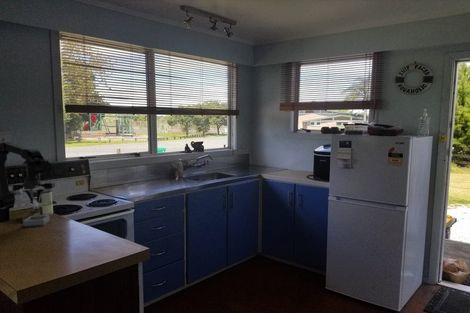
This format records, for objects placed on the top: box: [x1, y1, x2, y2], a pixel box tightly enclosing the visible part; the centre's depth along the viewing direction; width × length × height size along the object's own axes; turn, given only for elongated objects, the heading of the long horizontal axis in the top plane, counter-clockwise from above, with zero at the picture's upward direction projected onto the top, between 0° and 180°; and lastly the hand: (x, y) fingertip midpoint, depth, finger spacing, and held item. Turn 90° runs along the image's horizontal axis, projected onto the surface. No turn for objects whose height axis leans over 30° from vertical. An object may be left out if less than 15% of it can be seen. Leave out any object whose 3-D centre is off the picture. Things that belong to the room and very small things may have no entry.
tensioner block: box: [21, 210, 40, 223], centre depth 190 cm, size 9×6×4 cm, turn 12°
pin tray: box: [22, 215, 51, 228], centre depth 182 cm, size 10×10×3 cm
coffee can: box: [32, 188, 54, 216], centre depth 202 cm, size 10×10×14 cm
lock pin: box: [32, 197, 39, 210], centre depth 181 cm, size 2×2×6 cm
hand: (35, 202), depth 181 cm, fingers closed on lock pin, 2 cm apart
